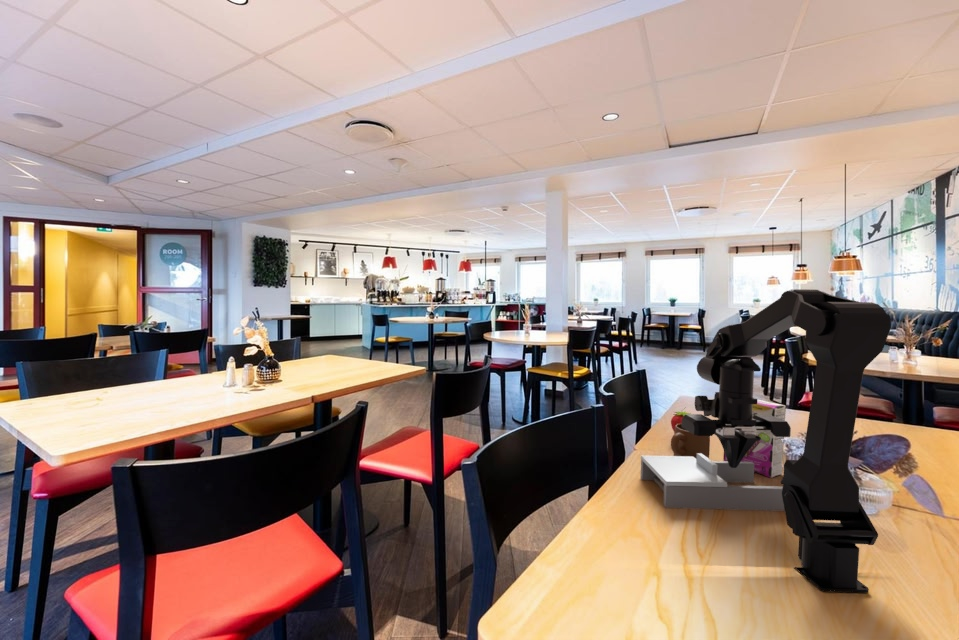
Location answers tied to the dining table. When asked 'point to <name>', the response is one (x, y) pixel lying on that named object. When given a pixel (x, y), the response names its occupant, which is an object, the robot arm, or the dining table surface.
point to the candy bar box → (766, 443)
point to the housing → (721, 491)
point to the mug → (689, 443)
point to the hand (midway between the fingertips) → (732, 467)
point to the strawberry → (677, 419)
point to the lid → (685, 470)
